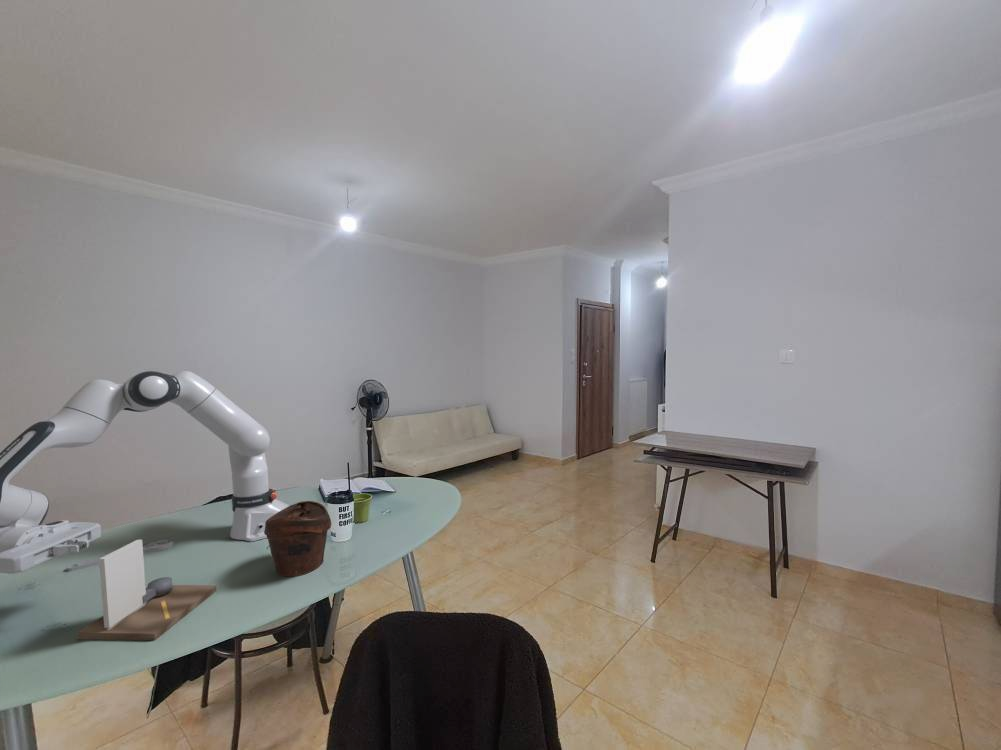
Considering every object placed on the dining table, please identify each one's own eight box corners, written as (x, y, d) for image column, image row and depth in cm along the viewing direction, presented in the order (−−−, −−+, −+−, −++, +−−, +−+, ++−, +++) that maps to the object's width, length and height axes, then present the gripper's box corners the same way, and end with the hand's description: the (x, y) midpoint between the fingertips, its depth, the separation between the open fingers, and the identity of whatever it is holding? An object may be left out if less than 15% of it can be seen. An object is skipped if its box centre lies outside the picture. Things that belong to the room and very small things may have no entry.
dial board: (151, 590, 120) (151, 584, 120) (216, 590, 119) (216, 585, 119) (77, 638, 100) (77, 632, 100) (155, 640, 99) (154, 633, 99)
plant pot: (358, 527, 160) (357, 503, 160) (341, 522, 165) (340, 499, 165) (378, 518, 168) (377, 495, 167) (361, 513, 173) (360, 491, 172)
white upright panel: (158, 586, 118) (154, 527, 117) (177, 586, 118) (173, 527, 117) (96, 627, 101) (90, 558, 100) (117, 628, 100) (112, 559, 99)
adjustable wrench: (66, 574, 130) (65, 568, 130) (69, 566, 135) (69, 560, 135) (172, 548, 146) (172, 543, 146) (171, 542, 151) (171, 537, 151)
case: (316, 544, 146) (313, 491, 145) (344, 565, 132) (341, 506, 130) (257, 564, 134) (253, 506, 132) (280, 590, 119) (276, 525, 118)
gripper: (-26, 552, 97) (34, 553, 96) (69, 517, 117) (120, 518, 117) (-24, 580, 97) (36, 582, 97) (71, 541, 118) (121, 541, 117)
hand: (82, 546), depth 107 cm, fingers closed
